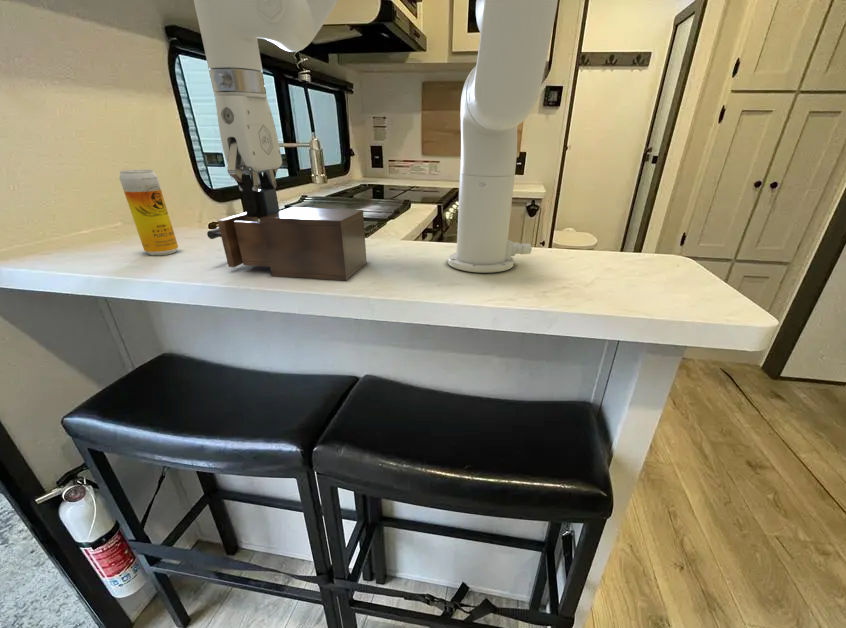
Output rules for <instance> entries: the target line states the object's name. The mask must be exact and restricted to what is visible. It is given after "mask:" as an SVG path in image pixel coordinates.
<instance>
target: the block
mask: <svg viewBox="0 0 846 628" xmlns="http://www.w3.org/2000/svg"><path fill="white" fill-rule="evenodd" d="M258 191H261V192H262V197H263V202H264V207H265V213H266V216H267V215H270V214H273V213H276V212H279V211H280V205H279V201H278V194H277V189H258ZM278 205H279V206H278Z"/></svg>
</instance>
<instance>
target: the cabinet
mask: <svg viewBox="0 0 846 628" xmlns="http://www.w3.org/2000/svg"><path fill="white" fill-rule="evenodd" d="M364 219H365V218H364V209H353V208H352V209H351V208H350V209H349V208H326V207H301V206H292V207H288V208H285V209H283V210H279V212H276V213H273V214H270V215H267V216H264V217H261V221H262V226H263V231H264V237H265V242H266V247H267V252H268V258H269V263H270V267H269V268H270V272H271V276H272V277H283V278H284V277H285V278H297V279H298V278H301V279H313V280H314V279H315V280H330V281H331V280H332V281H346V282H347V281H348V280H349V279H350V278H351V277H353V276H354V275H355V274H356V273H358V271H360V270H361V269H362V268H363V267H364V266H366V264H367V263H368V261H367V249H366V248H367V246H366V234H365V233H366V231H365V220H364Z"/></svg>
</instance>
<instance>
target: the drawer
mask: <svg viewBox="0 0 846 628" xmlns="http://www.w3.org/2000/svg"><path fill="white" fill-rule="evenodd" d="M258 218H259V219H258ZM217 225H218V227H217V228H213V229H211V230H208V231H207V232H206V236H207V237H208V238H209V239H210V240H214V239H217V238H221V241H222V245H223V250H224V254H225V258H226V262H227V266H228V268H236V267H239V266H240V265H243V266H251V267H252V266H253V267H269V268H270V263H269V258H268V252H267V247H266V242H265V237H264V231H263V226H262V221H261V217H248V216H247V212H246V211H245V212H241V213H239V214H235V215H231V216H228V217H225V218H222V219H218V220H217Z"/></svg>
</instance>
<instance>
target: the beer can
mask: <svg viewBox="0 0 846 628" xmlns="http://www.w3.org/2000/svg"><path fill="white" fill-rule="evenodd" d="M158 177H159V176H157V174H156V173H155V172H154V170H153V169H124V170H123V169H122V170H119V181H120V183H121V186H122V190H123V192H124V196H125V199H126V202H127V204H128V207H129V210H130V214H131V216H132V219H133V222H134V224H135V228H136V230H137V231H136V232H137V234H138V236H139V239H140V241H141V242H140V243H141V245H142V248H143V250H144V252H146V253H147V254H148V255H149V256H169V255H172V254H175V253H177V250H178V248H179V244H178V240H177V238H176V237H177V236H176V234H175V231H174V228H173V224H172V221H171V218H170V215H169V210H168V208H167V204H166V201H165V198H164V194H163V190H162V188H161V184H160V181H159V178H158Z"/></svg>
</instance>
